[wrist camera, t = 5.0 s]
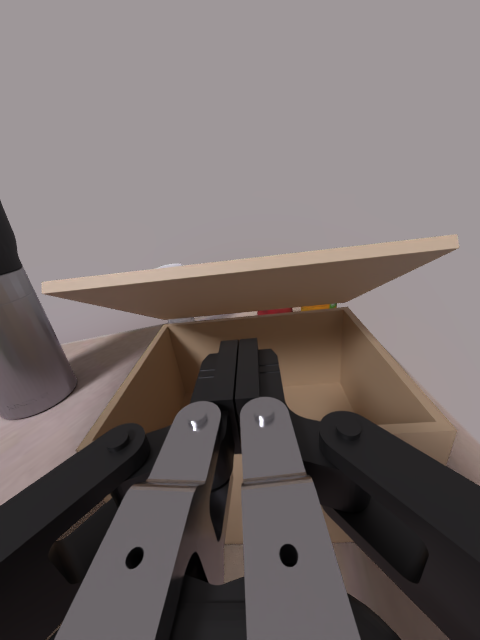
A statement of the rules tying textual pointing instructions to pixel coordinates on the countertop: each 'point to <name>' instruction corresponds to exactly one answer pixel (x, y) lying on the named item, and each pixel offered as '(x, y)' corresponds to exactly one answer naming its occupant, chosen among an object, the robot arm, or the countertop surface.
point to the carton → (283, 384)
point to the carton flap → (254, 280)
